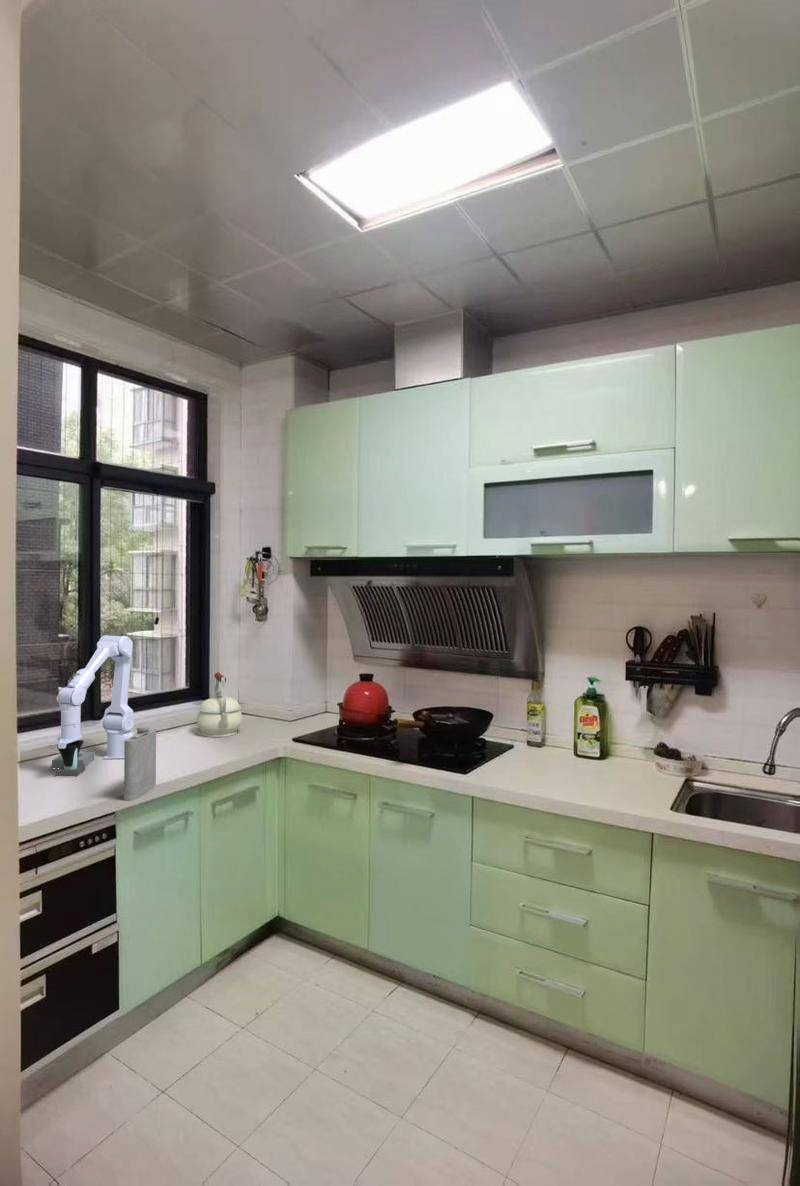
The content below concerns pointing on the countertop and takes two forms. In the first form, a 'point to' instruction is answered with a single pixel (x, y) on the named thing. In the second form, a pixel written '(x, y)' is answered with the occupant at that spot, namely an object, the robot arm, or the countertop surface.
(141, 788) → the hip flask
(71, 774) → the grey square base plate
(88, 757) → the socket
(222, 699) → the kettle
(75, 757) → the plug
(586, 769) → the countertop surface
